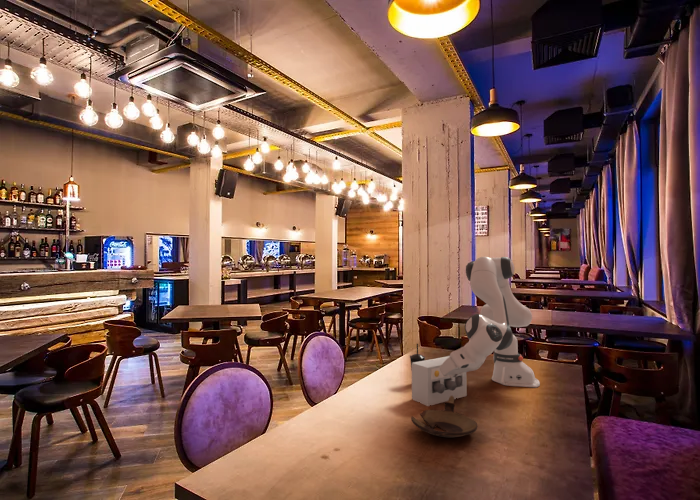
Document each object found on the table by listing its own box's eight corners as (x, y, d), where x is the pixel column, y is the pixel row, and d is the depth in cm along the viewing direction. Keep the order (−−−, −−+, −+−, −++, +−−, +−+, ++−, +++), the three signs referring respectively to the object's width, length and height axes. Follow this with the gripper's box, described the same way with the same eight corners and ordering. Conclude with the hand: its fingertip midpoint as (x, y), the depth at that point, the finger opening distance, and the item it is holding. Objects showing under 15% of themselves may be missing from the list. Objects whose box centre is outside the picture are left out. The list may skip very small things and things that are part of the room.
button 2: (456, 389, 168) (456, 380, 168) (449, 391, 166) (449, 381, 166) (451, 387, 171) (451, 378, 171) (444, 389, 168) (444, 380, 169)
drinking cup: (424, 382, 196) (424, 342, 197) (426, 386, 189) (425, 345, 190) (409, 381, 197) (409, 342, 198) (410, 386, 189) (410, 345, 190)
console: (467, 396, 175) (467, 360, 176) (428, 406, 162) (428, 368, 163) (450, 389, 184) (449, 355, 185) (411, 399, 171) (411, 362, 172)
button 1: (462, 385, 174) (461, 376, 174) (455, 386, 172) (455, 377, 172) (456, 383, 177) (456, 374, 177) (450, 385, 175) (450, 376, 175)
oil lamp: (397, 435, 135) (397, 412, 136) (442, 411, 157) (442, 392, 157) (455, 457, 120) (455, 431, 120) (496, 427, 141) (496, 406, 142)
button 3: (444, 392, 164) (444, 383, 164) (438, 394, 162) (437, 384, 162) (439, 390, 167) (439, 381, 167) (432, 392, 165) (432, 382, 165)
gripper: (483, 346, 159) (465, 366, 167) (448, 352, 148) (430, 372, 156) (493, 360, 155) (473, 379, 163) (457, 366, 144) (438, 386, 152)
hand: (452, 375), depth 159 cm, fingers closed
